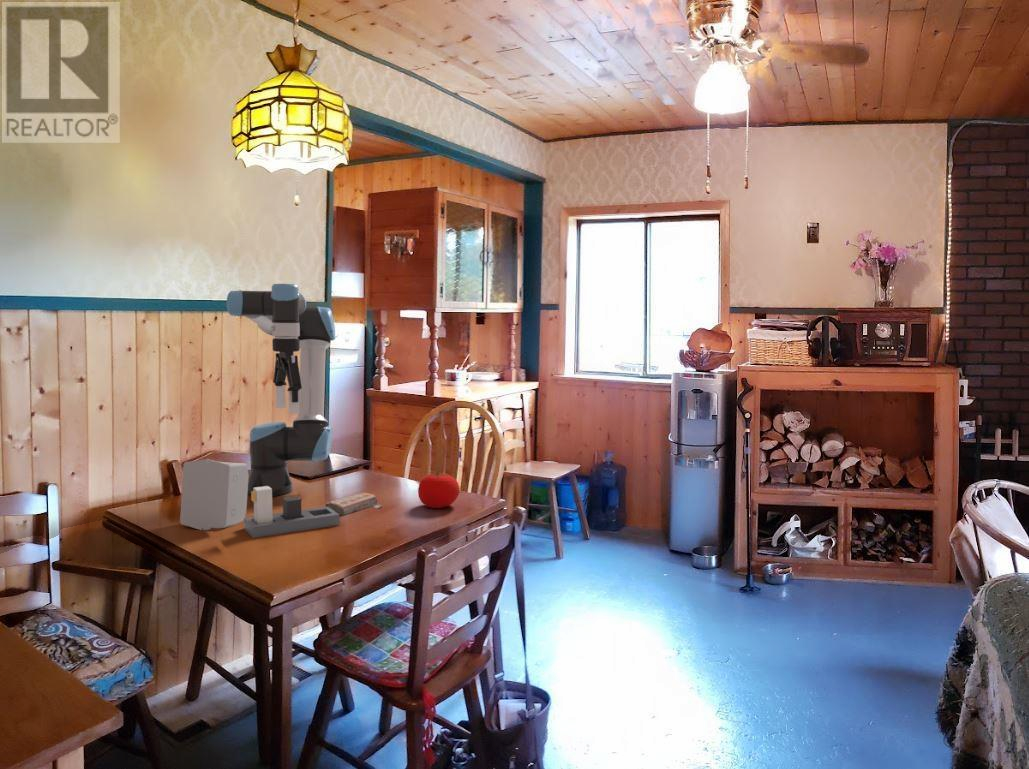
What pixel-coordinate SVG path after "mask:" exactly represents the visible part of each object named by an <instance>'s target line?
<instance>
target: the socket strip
mask: <svg viewBox="0 0 1029 769" xmlns="http://www.w3.org/2000/svg"><path fill="white" fill-rule="evenodd" d="M272 515H273V522H266V523H259V524H255V523H254V516H246V517H245V518H244V520H243V521H244V522H243V524H244V526H243V528H244V530H245V531H246V532H247V533H248V534H249V535H250V537H251V538H253V539H255V538H262V537H268V536H275V535H282V534H288V533H294V532H295V533H296V532H301V531H303V532H304V531H309V530H314V529H315V530H316V529H322V528H327V527H329V528H330V527H334V526H336V527H337V526H340V519H341V518H340V514H338V513H336V512H335V511H334V510H332V509H331V508H329V507H326V506H321V507H315V508H308V509H301V518H295V519H288V520H285V519H284V518H283V512H277V513H272Z"/></svg>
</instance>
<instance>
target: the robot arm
mask: <svg viewBox="0 0 1029 769" xmlns="http://www.w3.org/2000/svg"><path fill="white" fill-rule="evenodd" d="M226 296H227V297H226V308H227V309H226V310H227V312H228V314H229V315H230V316H233V317H245V318H247V319H249V320H251V321H252V322H253V323H255V325H256V326H257V327H258V328H259V329H260V330H261V331H262V332H263V333H265V334H267V335H270V336H272V337H274V338H272V351H273V352H276V353H275V361H274V362H275V363H274V364H275V365H274V371H273V379H272V382H273V384H274V386H275V409H285V408H287V400H286V396H287V395H286V393H287V392H288V414H289V415H295V414H297V417H295V419H293V421H292V426H287V424H286V422H285V421H276V422H268V423H262V424H259V425H256V426H254V427H252V428H251V429H250V432H249V434H250V435H249V450H250V451H249V454H250V455H249V457H250V472H249V473H248V492H247V496H251V491H253V488H255V487H263V486H269V487H270V488H271V489H272V497H274V496H275V497H276V496H281V495H285V494H289V493H291V492H292V491H293V482H292V480H291V477H290V473H289V470H288V467H287V466H288V464H287V462H315V461H316V462H317V461H324V460H326V459H328V457H329V455H330V453H331V448H332V443H333V427H332V426H330V425H329V421H328V420H327V419H326V417H325V415H324V414H325V386H326V383H325V382H326V358H327V357H326V351H327V349H328V348H330V347H331V341H334V340H335V339H336V328H335V321H334V315H333V312H332V310H331V308H329V307H324V306H307V300H306V298H305V296H304V295H303V294H301V293H300V291H299V286H298V285H297V284H296V283H273V284H272V285H271V290H241V289H239V290H230V291H229V292H228V293H227V295H226ZM294 352H300V353H299V354H300V355H299V359H298V355H294ZM286 379H287V382H286ZM287 383H288V388H287V392H286V386H287Z"/></svg>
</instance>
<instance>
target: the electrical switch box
mask: <svg viewBox="0 0 1029 769" xmlns="http://www.w3.org/2000/svg"><path fill="white" fill-rule="evenodd" d="M182 466H183V468H182V469H183V470H182V481H181V482H182V484H181V499H180V500H181V501H180V517H179V523H180V525H182V526H186V527H190V528H193V529H197V530H199V531H209V530H212V528H213V529H224V528H225V529H226V528H229V527H232V526H235V525H237V524H239V523H241V522H243V521H244V518H246V515H247V514H246V513H247V509H248V508H247V505H248V494H247V492H248V477H249V470H248V464H247V463H245V462H243V463H242V462H241V463H240V462H229V461H226V462H225V461H218V460H212V459H209V458H206V459H204V458H203V459H199V460H192V461H186V462H184V463H183V465H182Z"/></svg>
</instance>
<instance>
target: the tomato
mask: <svg viewBox="0 0 1029 769" xmlns="http://www.w3.org/2000/svg"><path fill="white" fill-rule="evenodd" d="M417 489H418V490H417V493H418V499H419V500H420V502H421V503H422V504H423V505H424V506H426V507H428V508H431V509H442V508H445V507H448V506H451V505H452V504H453V503H454V502H455V501H456V500H457V499H458V496H459V494H460V484H459V482H458V480H457V479H456V477H453V476H452V475H450V474H446V473H443V472H434V473H432V472H430V473H429V474H426V475H425V476H423V477H422V478H421V480H420V482H419V484H418V488H417Z"/></svg>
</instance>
